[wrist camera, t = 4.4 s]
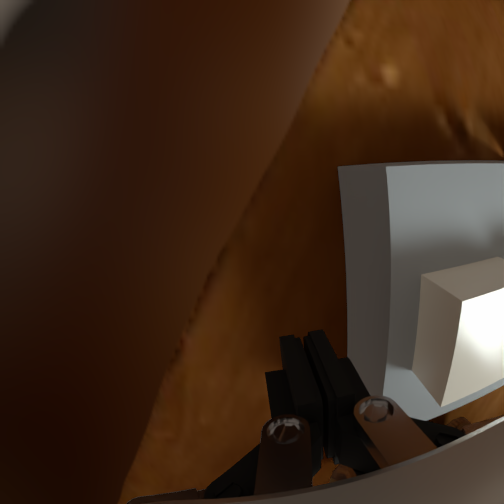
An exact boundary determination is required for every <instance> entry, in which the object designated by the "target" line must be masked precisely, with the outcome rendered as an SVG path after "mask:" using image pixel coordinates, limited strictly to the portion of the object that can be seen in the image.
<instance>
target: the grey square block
mask: <svg viewBox="0 0 504 504" xmlns="http://www.w3.org/2000/svg"><path fill="white" fill-rule="evenodd" d="M338 175H339V185H340V195H341V205H342V217H343V230H344V245H345V262H346V285H347V357H348V358H349V359H350V360H351V362H352V364H353V365H354V367H355V369H356V371H357V372H358V374H359V376H360V378H361V379H362V381H363V383H364V385H365V387H366V388H367V390H368V392H369V394H370V396H375V395H380V396H386V397H388V398H391V399H392V400H394V401H395V402H396V403H397V404H398V405H399V406H400V407H401V409H402V410H403V411H404V412H405V413H406V414H407V415H408V416H409V417H411V418H416V419H420V420H424V421H427V420H430V419H432V418H435V417H437V416H440V415H442V414H445V413H447V412H449V411H452V410H454V409H456V408H458V407H461V406H463V405H465V404H467V403H469V402H471V401H473V400H476V399H478V398H480V397H482V396H484V395H486V394H488V393H490V392H491V391H493V390H495V389H497V388H499V387H501V386H503V385H504V378H502V379H500V380H499V381H497V382H495V383H493V384H491V385H489V386H487V387H485V388H483V389H481V390H479V391H477V392H474V393H472V394H470V395H468V396H466V397H464V398H461V399H459V400H457V401H455V402H452V403H450V404H448V405H445V406H443V407H440V406H439V405H438V403H437V402H436V401H435V399H434V398H433V397H432V395H431V394H430V393H429V392H428V390H427V389H426V388H425V387H424V385H423V384H422V383H421V381H420V380H419V379H418V378H417V376H416V375H415V374H414V373H413V371H412V366H413V359H414V352H415V344H416V336H417V326H418V316H419V303H420V288H421V274H426V273H430V272H435V271H439V270H444V269H448V268H453V267H457V266H461V265H466V264H470V263H474V262H478V261H482V260H486V259H490V258H494V257H500V258H503V259H504V161H497V160H449V161H415V162H394V163H377V164H362V165H349V166H338Z"/></svg>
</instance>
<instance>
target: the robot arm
mask: <svg viewBox="0 0 504 504" xmlns="http://www.w3.org/2000/svg"><path fill="white" fill-rule="evenodd" d="M279 339H280V348H281V356H282V365H283V370H277V371H271V372H265V376H266V383H267V390H268V397H269V404H270V410H271V417H272V419H270V420H269V421H267V422H266V423H265V425H264V426H263V428H262V431H261V440H260V444H258V445H257V446H256V447H255V448H254V449H253V450H252V451H250V452H249V453H248V454H247V455H246V456H244V457H243V458H242V459H241V460H240V461H238V462H237V463H236V464H235V465H234V466H232V467H231V468H230V469H229V470H227V471H226V472H225V473H224V474H222V475H221V476H220V477H218V478H217V479H216V480H215V481H213V482H212V483H211V484H210V485H209V486H208V487H207V488H206V489H203V490H198V491H197V490H196V488H194V489H188V490H183V491H177V492H171V493H164V494H157V495H149V496H141V497H137V498H133V499H132V500H130V501H128V502H127V504H504V415H501V416H498V417H495V418H491V419H488V420H484V421H481V422H477V423H474V424H470V425H466V426H463V427H462V430H459V429H457V428H454V427H451V426H446V425H442V424H437V423H433V422H428V421H424V420H420V419H416V418H411V417H409V416H408V415H407V414H406V413H405V412H404V411H403V410H402V409H401V407H400V406H399V405H398V404H397V403H396V402H395V401H394V400H392V399H391V398H388V397H386V396H380V395H375V396H370V394H369V392H368V390H367V388H366V387H365V385H364V383H363V381H362V379H361V378H360V376H359V374H358V372H357V371H356V369H355V367H354V365H353V364H352V362H351V360H350V359H349V358H348V357H346V358H342V359H338V358H337V356H336V354H335V352H334V350H333V348H332V346H331V344H330V343H329V341H328V339H327V337H326V335H325V333H324V331H323V330H317V331H311V332H308V336H304V338H303V339H304V348H303V345H302V342H301V339H300V337H298V338H295V337H294V335H288V336H282V337H279ZM323 447H324V450H325V454H326V457H327V458H330V457H332V458H333V462H334V465H336V464H342V465H344V466H347V467H348V471H349V474H350V476H351V477H352V478H348V479H344V480H340V481H336V482H332V483H328V484H323V485H318V486H313V487H312V478H313V476H314V475H315V474H316V473H317V472H318V471H319V470H320V468H321V459H323Z"/></svg>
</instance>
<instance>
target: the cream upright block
mask: <svg viewBox="0 0 504 504" xmlns="http://www.w3.org/2000/svg"><path fill="white" fill-rule="evenodd" d="M412 371H413V373H414V374H415V375H416V376H417V378H418V379H419V380H420V381H421V383H422V384H423V385H424V387H425V388H426V389H427V390H428V392H429V393H430V394H431V395H432V397H433V398H434V399H435V401H436V402H437V403H438V405H439V406H440V407H443V406H445V405H448V404H450V403H452V402H455V401H457V400H459V399H461V398H464V397H466V396H468V395H470V394H472V393H474V392H477V391H479V390H481V389H483V388H485V387H487V386H489V385H491V384H493V383H495V382H497V381H499V380H500V379H502V378H504V259H503V258H500V257H494V258H490V259H486V260H482V261H478V262H474V263H470V264H466V265H461V266H457V267H453V268H448V269H444V270H439V271H435V272H430V273H426V274H421V288H420V303H419V316H418V326H417V336H416V344H415V352H414V359H413V366H412Z"/></svg>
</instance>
